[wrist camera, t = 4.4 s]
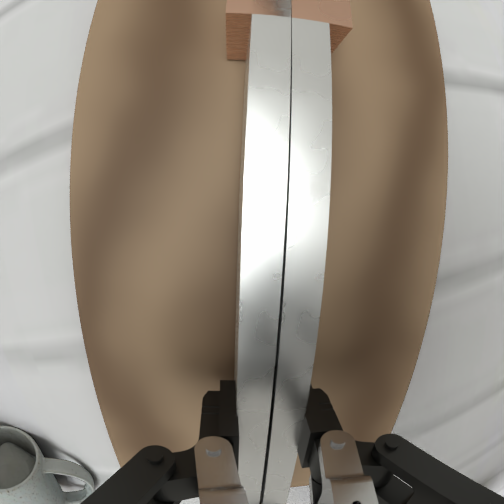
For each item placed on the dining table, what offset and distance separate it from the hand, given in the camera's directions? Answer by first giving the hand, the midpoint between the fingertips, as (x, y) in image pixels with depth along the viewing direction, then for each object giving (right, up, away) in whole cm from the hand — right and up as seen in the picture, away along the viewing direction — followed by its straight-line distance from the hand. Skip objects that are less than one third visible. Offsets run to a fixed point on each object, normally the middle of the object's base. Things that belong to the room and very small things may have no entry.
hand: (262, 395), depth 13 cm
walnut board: (0, +6, +1) cm, 6 cm away
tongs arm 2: (-1, +6, 0) cm, 6 cm away
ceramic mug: (-18, -11, +4) cm, 22 cm away
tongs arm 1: (+1, +6, 0) cm, 6 cm away
